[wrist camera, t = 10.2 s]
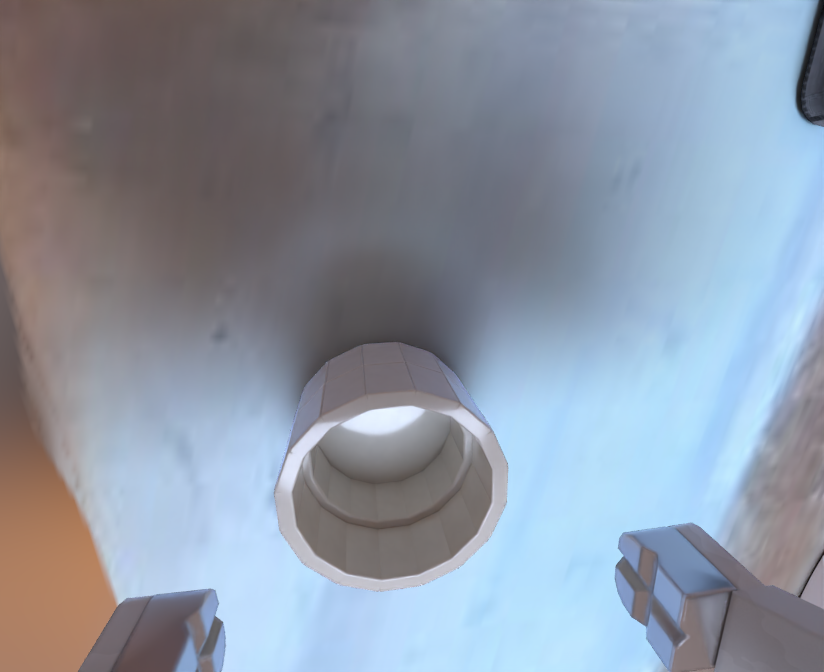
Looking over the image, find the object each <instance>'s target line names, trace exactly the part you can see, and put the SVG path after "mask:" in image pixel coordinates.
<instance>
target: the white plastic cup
mask: <svg viewBox="0 0 824 672" xmlns="http://www.w3.org/2000/svg"><path fill="white" fill-rule="evenodd" d="M507 483H508V463H507V461H506V459H505V456H504V454H503V452H502V450H501V447H500V445H499V443H498V440H497V438H496V436H495V434H494V431H493V430H492V428H491V427H490V425H489V424H488V422H487V420H486V419H485V417H484V416H483V414H482V413H481V411H480V410H479V408H478V407H477V405H476V404H475V402H474V401H473V399H472V398H471V396H470V395H469V393H468V392H467V390H466V388H465V387H464V385H463V384H462V382H461V381H460V379H459V378H458V376H457V375H456V373H455V372H454V371H453V370H451V369H450V368H449V367H448V366H447V365H446V364H444V363H443V362H442V361H441V360H440V359H439V358H438V357H436V356H435V355H434V354H433V353H431V352H429V351H426V350H423V349H420V348H416V347H413V346H410V345H407V344H404V343H401V342H387V343H373V344H363V345H362V346H361V345H360V346H357V347H355V348H353V349H351V350H349V351H347V352H345V353H343V354H341V355H339V356H336V357H334V358H332V359H330V360H329V361H327V362H326V363H325V364H324V365H323V366H322V368H321V369H320V370H319V371H318V372H317V373H316V374H315V375H314V376H313V377H312V379H311V380H310V381H309V382H308V383H307V384H306V385H305V388H304V389H303V392H302V395H301V398H300V401H299V404H298V407H297V410H296V413H295V416H294V419H293V423H292V427H291V430H290V434H289V438H288V441H287V445H286V448H285V452H284V456H283V459H282V463H281V467H280V470H279V474H278V478H277V481H276V485H275V489H274V497H275V504H276V511H277V517H278V524H279V530H280V532H281V534H282V536H283V537H284V538H285V540H286V541H287V543H288V544H289V545H290V547H291V548H292V550H293V551H294V552H295V554H296V555H297V557H298V558H299V559H300V561H301V562H302V563H304V565H305V566H307V567H308V568H310V569H312V570H314V571H315V572H317V573H319V574H320V575H322V576H324V577H325V578H327V579H329V580H331V581H332V582H334V583H336V584H339V585H342V586H348V587H354V588H359V589H365V590H371V591H377V592H379V591H380V592H383V591H390V590H396V589H403V588H410V587H417V586H421V584H422V585H424V584H427V583H429V582H431V581H433V580H435V579H437V578H439V577H441V576H443V575H445V574H447V573H449V572H451V571H454V570H456V569H458V568H459V566H460V567H461V566H462V565H463V564H464V563H465V562H466V561H467V560H468V559H469V558H470V557H471V556H472V555H473V554H475V553H476V552H477V551H478V550H479V549H480V548H481V547H482V546H483V545H484V544H485V543H486V542H487V541H488V540H489V538H490V537H491V535H492V533H493V531H494V529H495V527H496V525H497V523H498V521H499V519H500V516H501V514H502V512H503V510H504V508H505V506H506V503H507Z"/></svg>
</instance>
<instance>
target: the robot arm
mask: <svg viewBox="0 0 824 672" xmlns="http://www.w3.org/2000/svg"><path fill="white" fill-rule="evenodd" d="M618 549H619V550H620V551H621V553H622V554H623V555H624V556H623V557H622V558H621V560H620V561H619V562H618V563H617V565H616V569H615V582H616V586H617V591H618V594H619V596H620V598H621V601H622V603H623V605H624V606H625V608H626V609H627V611H628V613H629V614H630V616H631V617H632V618H634V619H635V620H637V621H638V622H640V623H641V624H643V625H645V626H646V639H647V640H648V642H649V643H650V645H651V646H652V648H653V649H654V651H655V652H656V654H657V655H658V656H659V658H660V659H661V661H662V662H663V664H664V665H665V667H666V668H667V669H668V671H669V672H689V671H696V670H703V669H711V668H715V669H714V671H715V672H824V609H822V608H820V607H818V606H816V605H814V604H812V603H809V602H807V601H805V600H803V599H801V598H799V597H797V596H795V595H792V594H790V593H788V592H786V591H784V590H782V589H780V588H778V587H775V586H773V585H771V586H765V585H764V584H762V583H761V582H760V581H759V580H758V579H757V578H756V577H755V576H754V575H752V574H751V573H750V572H749V571H748V570H747V569H746V568H745V567H744V566H743V565H741V564H740V563H739V562H738V561H737V560H736V559H735V558H734V557H733V556H731V555H730V554H729V553H728V552H727V551H726V550H725V549H724V548H723V547H722V546H720V545H719V544H718V543H717V542H716V541H715V540H714V539H713V538H712V537H711V536H709V535H708V534H707V533H706V532H705V531H704V530H703V529H702V528H701V527H699V526H697V525H695V524H693V523H686V524H679V525H672V526H668V527H658V528H652V529H645V530H638V531H631V532H624V533H623V534H622V535H621V537H620V538H619V544H618ZM218 605H219V602H218V598H217V594H216V591H215V590H214V589H203V590H194V591H185V592H175V593H166V594H157V595H153V596H144V597H135V598H127V599H125V600H124V601H123V602H122V603H121V604H119V605H118V607H117V608H116V610H115V611H114V613H113V615H112V616H111V618H110V620H109V621H108V623H107V625H106V626H105V628H104V629H103V631H102V633H101V635H100V636H99V638H98V639H97V641H96V643H95V644H94V646H93V648H92V649H91V651H90V653H89V654H88V656H87V658H86V659H85V661H84V662H83V664H82V666H81V667H80V669H79V671H78V672H221V671H222V667H223V662H224V654H225V646H226V644H225V629H224V624H223V622H222V621H221V620H220V619H218V618H217V617H216V616H215V614H216V611H217V608H218Z"/></svg>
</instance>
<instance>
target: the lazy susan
mask: <svg viewBox="0 0 824 672" xmlns="http://www.w3.org/2000/svg"><path fill="white" fill-rule="evenodd" d="M800 598H801V599H803V600H805V601H807V602H809V603H812V604H814V605H816V606H818V607H820V608H822V609H824V555H823V557H822V558H821V560H820V562H819V563H818V565H817V567H816V569H815V570H814V572H813V574H812V576H811V578H810V580H809V581H808V583H807V585H806V587H805V589H804V591H803V593H802V595H801V597H800Z"/></svg>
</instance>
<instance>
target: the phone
mask: <svg viewBox="0 0 824 672" xmlns="http://www.w3.org/2000/svg"><path fill="white" fill-rule="evenodd" d="M801 103H802V109H803V111H804V113H805V116H806V118H807V119H808V120H810V121H811V122H812V123H813V124H815V125H819V126H823V127H824V5H823V9H822V13H821V17H820V20H819V24H818V28H817V32H816V36H815V40H814V43H813V47H812V51H811V55H810V59H809V62H808V66H807V70H806V74H805V78H804V82H803V86H802V93H801Z"/></svg>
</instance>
